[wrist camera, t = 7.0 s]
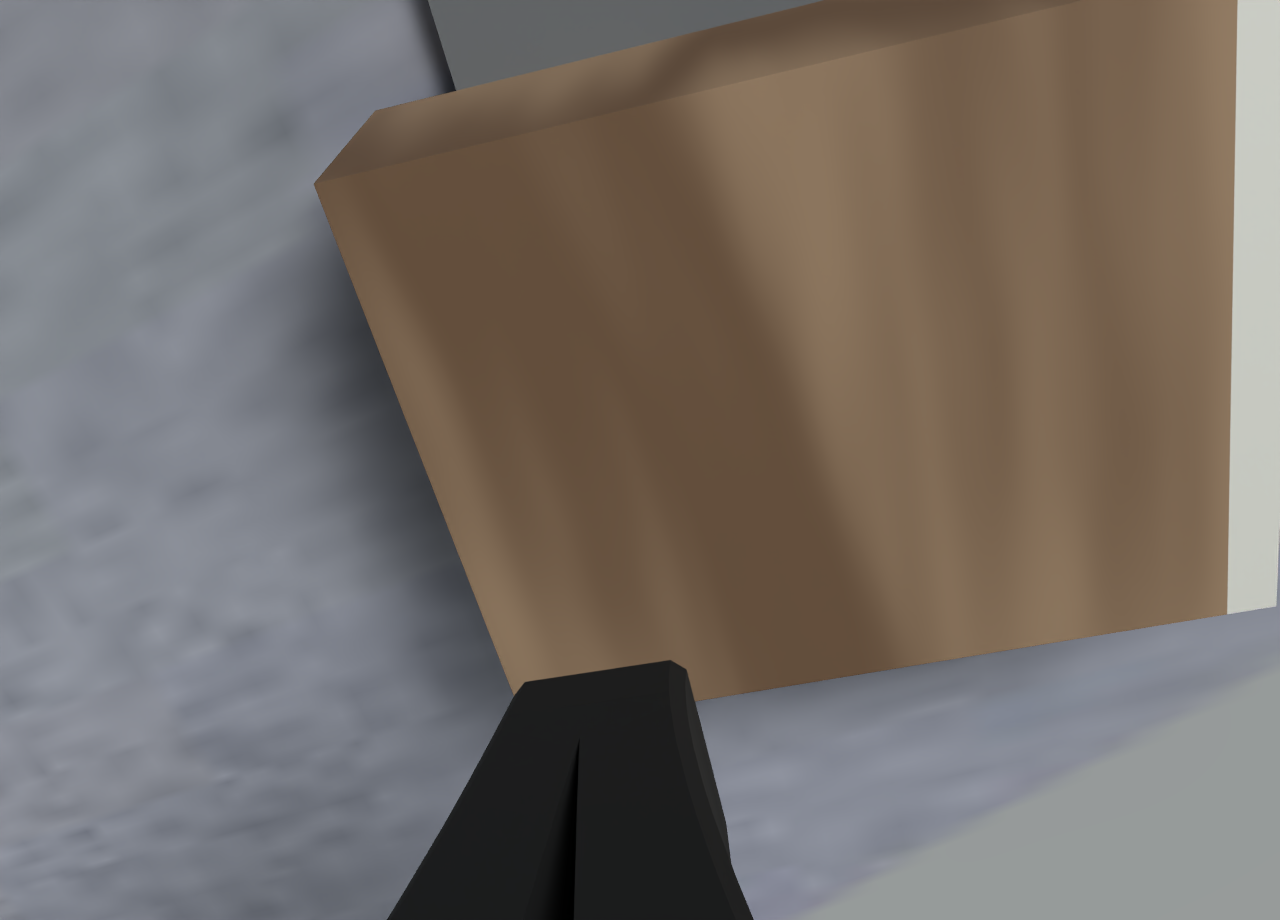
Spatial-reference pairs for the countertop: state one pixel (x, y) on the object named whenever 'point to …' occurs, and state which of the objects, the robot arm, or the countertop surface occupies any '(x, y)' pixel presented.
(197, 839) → the countertop surface
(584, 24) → the mat
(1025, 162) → the wooden block
